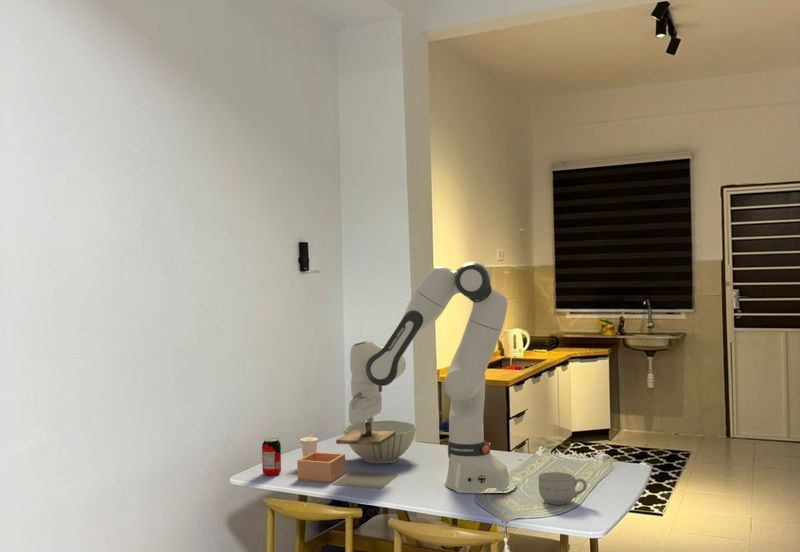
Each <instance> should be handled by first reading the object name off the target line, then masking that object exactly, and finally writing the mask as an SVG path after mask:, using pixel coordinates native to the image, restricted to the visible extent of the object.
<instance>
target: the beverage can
mask: <svg viewBox="0 0 800 552" xmlns="http://www.w3.org/2000/svg"><path fill="white" fill-rule="evenodd" d="M279 440H280V439H279V438H278V437H266V438H264V439H263V442H262V445H261V453H262V455H261V457H262V462H261V463H262V466H261V467H262V473H263V474H264V475H265V476H267V477H274V476H278V475H279V474H280V473H281V472H282V457H281V456H282V451H281V449H282V448H281V447H282V446H281V445H282V444H281V442H280V441H279Z"/></svg>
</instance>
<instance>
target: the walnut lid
mask: <svg viewBox="0 0 800 552" xmlns="http://www.w3.org/2000/svg"><path fill="white" fill-rule="evenodd" d="M365 427H366V428H367V433H366V434H360V430H354V431H352V432H350V433H348V434H346V435H342V437H339V438H337V439H336V440H335V441H336V445H349V444H357V445H381V444H383V443H384V442H386V441H387V440H389V439H390V438H392V437H393V436H395V435H396V434H395V431H372V427H371V423H369V422H366V423H365Z"/></svg>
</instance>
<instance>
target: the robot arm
mask: <svg viewBox="0 0 800 552" xmlns="http://www.w3.org/2000/svg"><path fill="white" fill-rule="evenodd" d="M491 276H492V274H491V273H490V270H489V269H488V267H486V265H484V264H483V263H482V262H478V261H470V262H469V261H468V262H466V263H464V264H462V265H461V266H460V267H459V268H458V269H456V270H452V269H451V268H449V267H446V266H443V265H442V266H439V265H438V266H435V267H433V268H432V269H431V270H430V271H429V272H428V273H427V274H426V276H424V277H423V280H422V281H421V282H420V283H419V285H418V287H417V288H416V290H415V291H414V293H413V295H412V297H411V299H409V300H410V301H409V302H408V304H407V307H406V309H405V310H404V313H403V316H402V318H401V319H400V321H399V323H398V325H397V327H396V328H395V330H394V331H393V332H392V334H391V336H390V337H389V339H388V340H387V342H386V343H385V345H384V346H381V345H379V344H377V343H376V342H375V341H374V340H364V341H360V342H357V343H355V344H353V345H352V346H351V348H350V356H349V369H350V372H351V380H350V391H351V397H352V398H351V400H350V401H349V404H348V405H349V407H348V419H349V420H348V421H349V423H350V424H358V425H359V428H360V434H366V433H367V428H366V427H365V423H366V421H367V422H369V423H371V427H372V424H373V421H375V419H374V417H375V416H377V415H379V414H380V413H381V411H382V404H383V403H382V401H383V400H382V392H383V386H389V385H390V384H391V383H393V381H394V380H396V379H398V378H399V377H401V375H403V373H404V371H405V370H406V366H407V365H406V359H405V357H404V356H403V355H404V354H405V353H406V351H407V350H408V348H409V347H410V345H411V343H412V342H413V340H414V339H415V338H416V337H417V336H418V335H419V334H420V333H421V332H422V331H424V330H426V328H429V327H430V326H432V325H433V324H434V323H435V322H436V321H437V320H438V318H439V317H440V316H441V314H443V312H444V310H445V309H446V307H447V306H448V304H449V303H450V301H451V300H452V298H453V297H454V296H455V295H457V294H461V295H463V296H464V297H466V298H467V299H469V300H470V301H471V302H472V308H471V311H470V315H469V317H468V319H467V323H466V326H465V329H464V332H463V333H462V336H461V340H460V342H459V345H458V347H457V349H456V351H455V353H454V356H453V358H452V360H451V363H450V365H449V367H448V370H447V372H446V375H445V378H444V382H443V383H444V384H443V385H444V386H443V387H444V390H445V393H446V395H447V396H448V397H450V399H451V400H450V407H449V408H450V409H449V415H448V431H449V433H448V435H449V436H448V438H449V440H447V455H448V468H447V469H448V470H447V475H446V479H445V482H444V486H445V487H447V488H448V489H451V490H454V491H455V492H456V493H458V494H479V493H478V492H481V491H484V490H485V489H487V488H496V489H498V490H496V491H502V492H504V491H507V490H508V489H505V488H507V487H508V486H509V483H510V481H509V479H510V475H509V470H508V468H507V466H506V464H505V463H504V462H503V461H501V460H500V459H498V458H497V457H496V456H495V455H494V454H492V453H491V442H490V441H489V443H488V442H487V441H486V440H484V439H485V437H484V436H485V435H484V432H485V431H484V412H485V410H484V409H485V399H486V398H485V397H486V374H485V373H486V371H487V368H488V367H489V364H490V361H491V360H492V357H493V355H494V354H495V351H496V348H497V345H498V341H499V338H500V337H501V332H502V330H503V327H504V324H505V319H506V316H507V311H508V303H509V301H508V299H507V297H506V296H505V295H504V294H503V293H501V292H499V291H497V290H494V289H493V287H492V283H491V282H492V277H491ZM512 486H513V485H512ZM512 486H511V487H512ZM511 487H510V488H511ZM513 487H514V486H513ZM513 487H512V488H513Z"/></svg>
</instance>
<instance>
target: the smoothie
mask: <svg viewBox="0 0 800 552" xmlns="http://www.w3.org/2000/svg"><path fill="white" fill-rule="evenodd" d="M299 441H300V445H301V451H302V458H303V457H305V456H307V455H309V454H311V453H312V452H317V448H318V447H317V446H318V442H319V439H318V437H313V436H312V427H311V426H309V436H308V437H302V438H301V439H300V440H299Z"/></svg>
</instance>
